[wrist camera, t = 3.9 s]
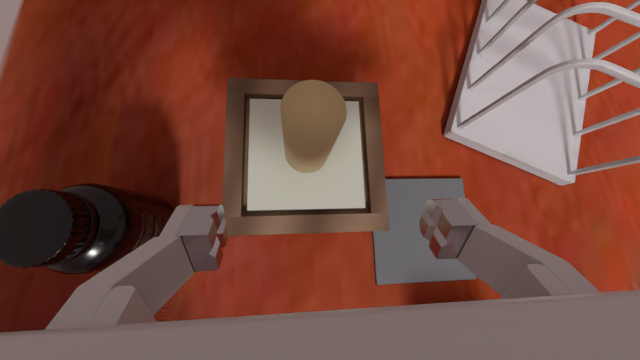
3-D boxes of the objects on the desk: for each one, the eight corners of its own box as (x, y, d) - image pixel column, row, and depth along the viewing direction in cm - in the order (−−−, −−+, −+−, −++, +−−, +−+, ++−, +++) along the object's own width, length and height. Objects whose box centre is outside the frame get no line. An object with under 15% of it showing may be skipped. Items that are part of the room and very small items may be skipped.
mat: (375, 283, 28) (376, 284, 28) (368, 180, 30) (369, 179, 30) (474, 278, 30) (476, 279, 29) (460, 178, 32) (462, 178, 31)
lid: (249, 211, 22) (218, 198, 13) (251, 104, 23) (226, 29, 15) (362, 208, 23) (406, 195, 14) (355, 106, 24) (391, 37, 16)
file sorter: (559, 186, 33) (783, 151, 18) (440, 137, 33) (567, 58, 18) (583, 39, 39) (770, -83, 24) (481, -5, 38) (605, -158, 23)
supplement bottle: (146, 183, 28) (38, 150, 16) (193, 221, 27) (118, 216, 16) (96, 233, 26) (-62, 237, 15) (145, 274, 26) (25, 311, 14)
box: (241, 234, 28) (220, 236, 20) (244, 116, 30) (227, 77, 23) (363, 230, 29) (389, 230, 21) (356, 118, 32) (377, 82, 24)
